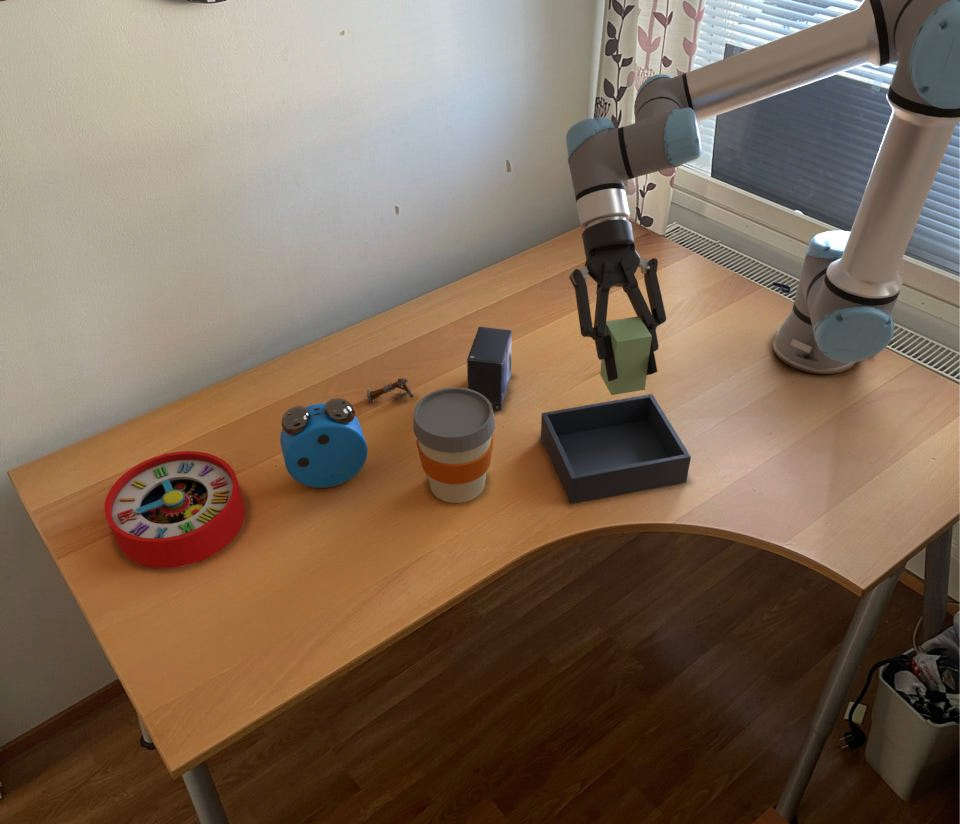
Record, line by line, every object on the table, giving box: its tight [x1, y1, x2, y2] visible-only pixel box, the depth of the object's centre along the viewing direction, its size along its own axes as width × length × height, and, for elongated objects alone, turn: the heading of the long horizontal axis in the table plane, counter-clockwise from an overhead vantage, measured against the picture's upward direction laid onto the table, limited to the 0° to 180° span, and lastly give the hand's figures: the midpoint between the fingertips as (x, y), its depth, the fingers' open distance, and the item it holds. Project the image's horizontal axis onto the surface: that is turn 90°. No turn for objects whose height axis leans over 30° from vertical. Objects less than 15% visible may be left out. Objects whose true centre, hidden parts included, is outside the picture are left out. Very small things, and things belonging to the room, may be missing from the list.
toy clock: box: [103, 450, 246, 570], centre depth 141 cm, size 20×6×20 cm
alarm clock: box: [279, 397, 369, 489], centre depth 144 cm, size 13×6×15 cm, turn 107°
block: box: [599, 316, 652, 396], centre depth 139 cm, size 6×6×10 cm
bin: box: [540, 393, 692, 505], centre depth 148 cm, size 20×17×6 cm
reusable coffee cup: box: [412, 387, 496, 504], centre depth 142 cm, size 13×13×15 cm
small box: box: [466, 326, 513, 411], centre depth 160 cm, size 11×6×10 cm, turn 168°
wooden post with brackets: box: [366, 377, 414, 404], centre depth 162 cm, size 2×8×4 cm, turn 92°
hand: (632, 376), depth 137 cm, fingers closed on block, 5 cm apart
